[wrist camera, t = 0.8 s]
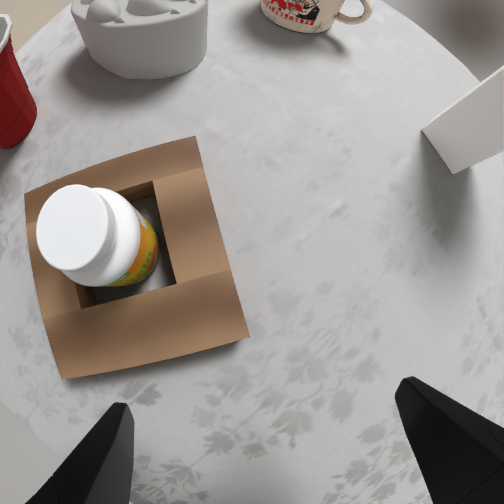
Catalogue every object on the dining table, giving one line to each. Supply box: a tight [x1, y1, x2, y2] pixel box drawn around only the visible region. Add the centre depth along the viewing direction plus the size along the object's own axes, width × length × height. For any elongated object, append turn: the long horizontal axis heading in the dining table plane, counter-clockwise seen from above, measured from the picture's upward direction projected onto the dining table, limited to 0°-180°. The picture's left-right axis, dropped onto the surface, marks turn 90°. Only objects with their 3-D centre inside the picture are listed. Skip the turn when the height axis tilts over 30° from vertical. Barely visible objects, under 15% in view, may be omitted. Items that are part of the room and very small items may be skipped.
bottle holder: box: [24, 136, 250, 379], centre depth 19 cm, size 14×14×3 cm
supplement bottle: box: [36, 184, 159, 287], centre depth 16 cm, size 5×5×10 cm
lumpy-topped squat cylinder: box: [71, 0, 208, 79], centre depth 19 cm, size 10×13×9 cm
